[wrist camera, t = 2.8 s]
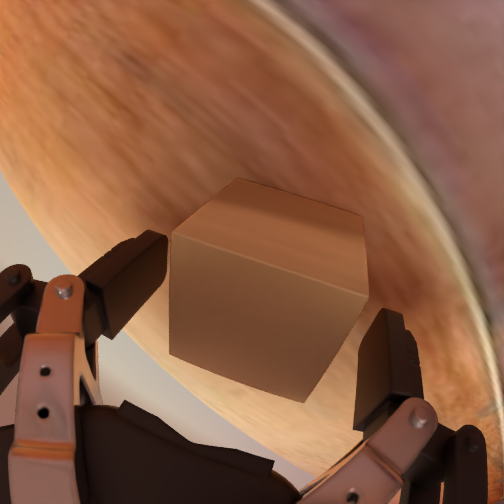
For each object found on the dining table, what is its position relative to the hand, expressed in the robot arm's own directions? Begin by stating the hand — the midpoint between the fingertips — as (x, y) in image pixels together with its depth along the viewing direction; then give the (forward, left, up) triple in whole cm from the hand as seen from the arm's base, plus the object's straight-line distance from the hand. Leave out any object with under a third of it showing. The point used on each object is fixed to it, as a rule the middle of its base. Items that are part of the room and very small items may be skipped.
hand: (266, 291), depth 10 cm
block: (0, 0, -3) cm, 3 cm away
